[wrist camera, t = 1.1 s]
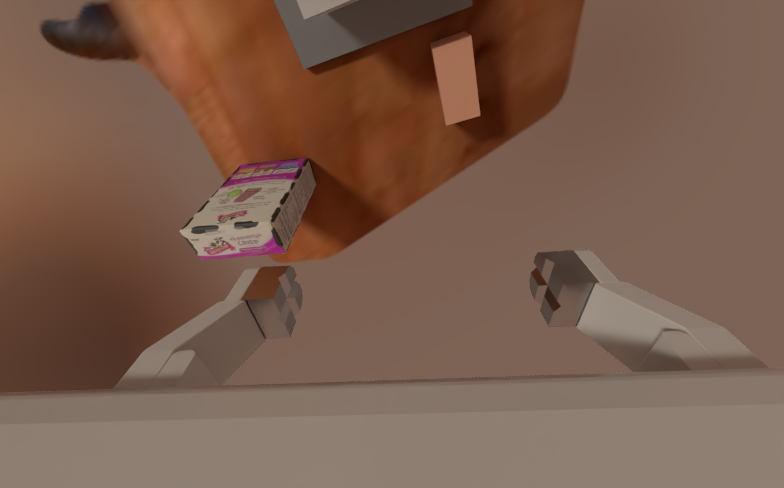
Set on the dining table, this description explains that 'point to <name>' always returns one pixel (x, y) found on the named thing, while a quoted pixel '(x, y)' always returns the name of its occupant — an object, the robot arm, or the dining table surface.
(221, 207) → the candy bar box
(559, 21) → the dining table surface
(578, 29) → the dining table surface
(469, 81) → the terracotta brick
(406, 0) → the white stack on tray
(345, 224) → the dining table surface
